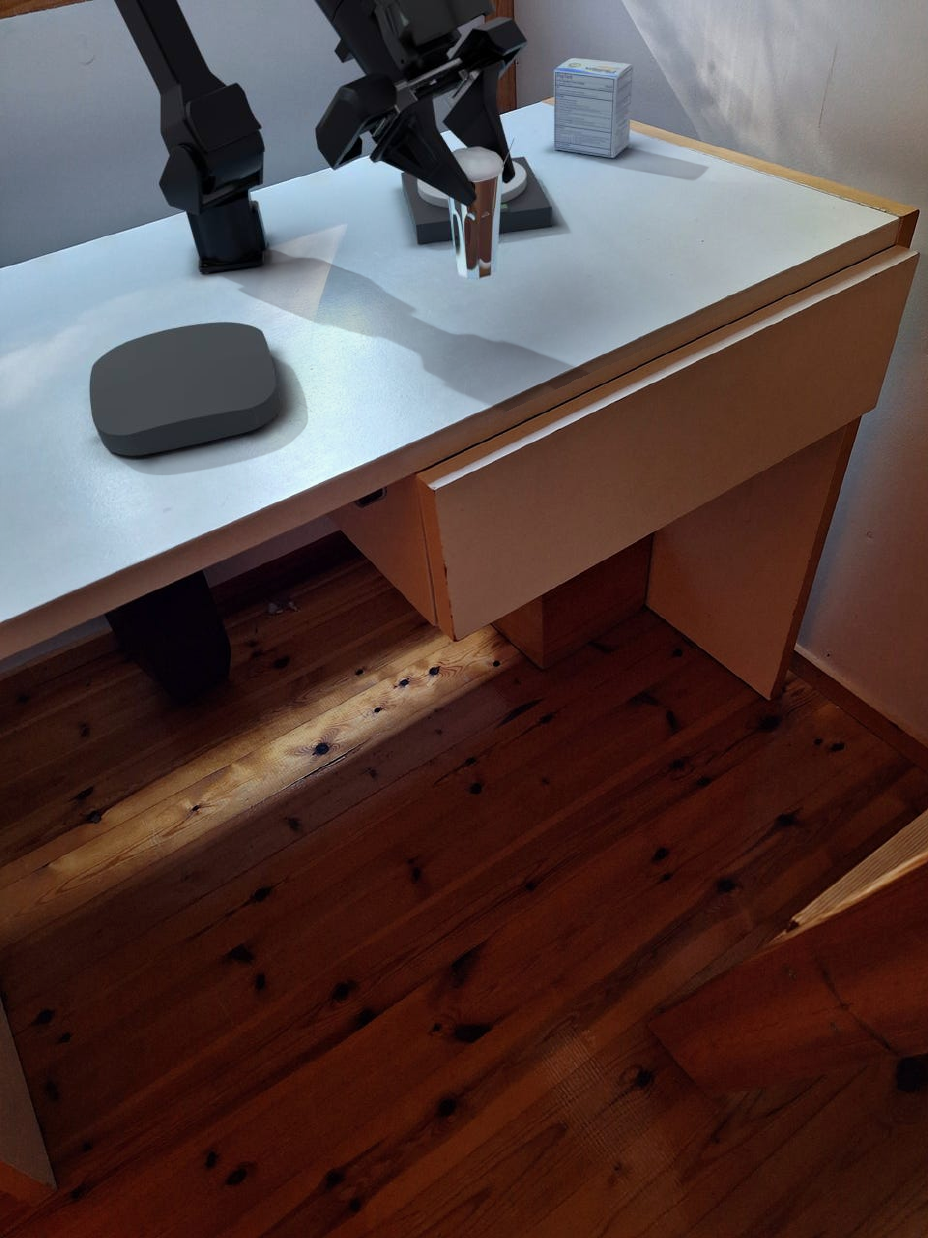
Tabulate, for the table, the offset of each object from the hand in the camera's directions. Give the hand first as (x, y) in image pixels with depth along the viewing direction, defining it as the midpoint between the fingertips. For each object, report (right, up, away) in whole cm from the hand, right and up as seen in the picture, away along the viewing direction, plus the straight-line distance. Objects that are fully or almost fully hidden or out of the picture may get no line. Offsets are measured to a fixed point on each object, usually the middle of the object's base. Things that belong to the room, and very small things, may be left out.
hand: (492, 191), depth 68 cm
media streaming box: (-25, -14, +8) cm, 30 cm away
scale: (-1, +12, +30) cm, 32 cm away
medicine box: (+13, +23, +39) cm, 47 cm away
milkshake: (-1, -4, +6) cm, 7 cm away
